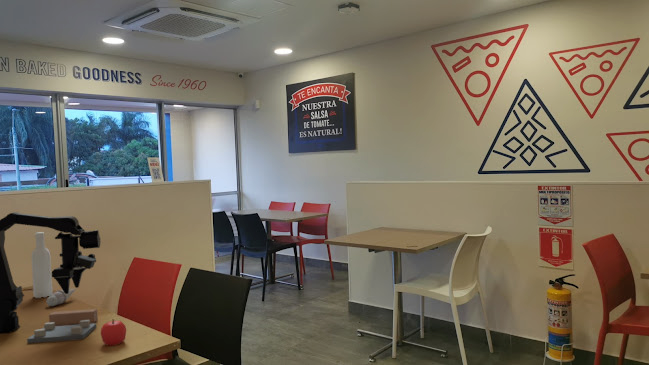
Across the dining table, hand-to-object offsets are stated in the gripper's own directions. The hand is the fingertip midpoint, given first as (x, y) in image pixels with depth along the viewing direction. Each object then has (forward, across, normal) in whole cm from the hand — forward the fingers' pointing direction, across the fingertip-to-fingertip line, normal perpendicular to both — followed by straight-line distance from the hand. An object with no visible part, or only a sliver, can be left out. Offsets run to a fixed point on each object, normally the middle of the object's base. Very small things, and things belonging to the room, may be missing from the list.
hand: (72, 290), depth 178 cm
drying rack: (+12, -14, -2) cm, 19 cm away
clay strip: (+13, 0, 0) cm, 13 cm away
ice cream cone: (+13, +31, +17) cm, 38 cm away
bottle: (+13, +46, +32) cm, 57 cm away
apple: (+12, -26, -23) cm, 37 cm away
